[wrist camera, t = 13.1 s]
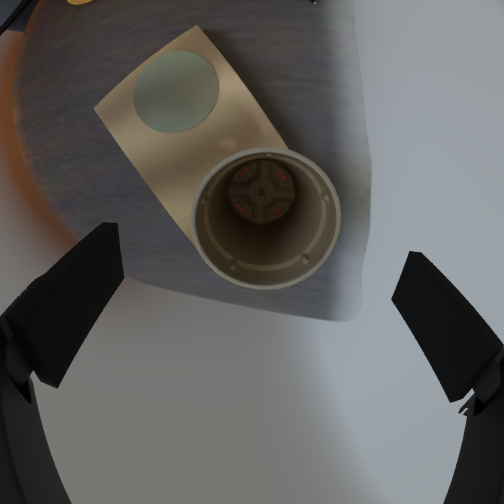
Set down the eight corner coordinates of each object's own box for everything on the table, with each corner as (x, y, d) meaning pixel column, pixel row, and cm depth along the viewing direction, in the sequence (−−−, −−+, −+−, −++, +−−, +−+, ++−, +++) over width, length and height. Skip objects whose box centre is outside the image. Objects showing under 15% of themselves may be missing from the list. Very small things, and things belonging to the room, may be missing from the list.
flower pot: (332, 170, 23) (368, 194, 16) (283, 254, 27) (295, 308, 19) (238, 122, 22) (229, 119, 14) (195, 214, 25) (170, 256, 18)
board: (100, 108, 22) (92, 108, 20) (200, 29, 19) (196, 24, 17) (215, 263, 29) (213, 270, 28) (319, 201, 26) (323, 206, 25)
